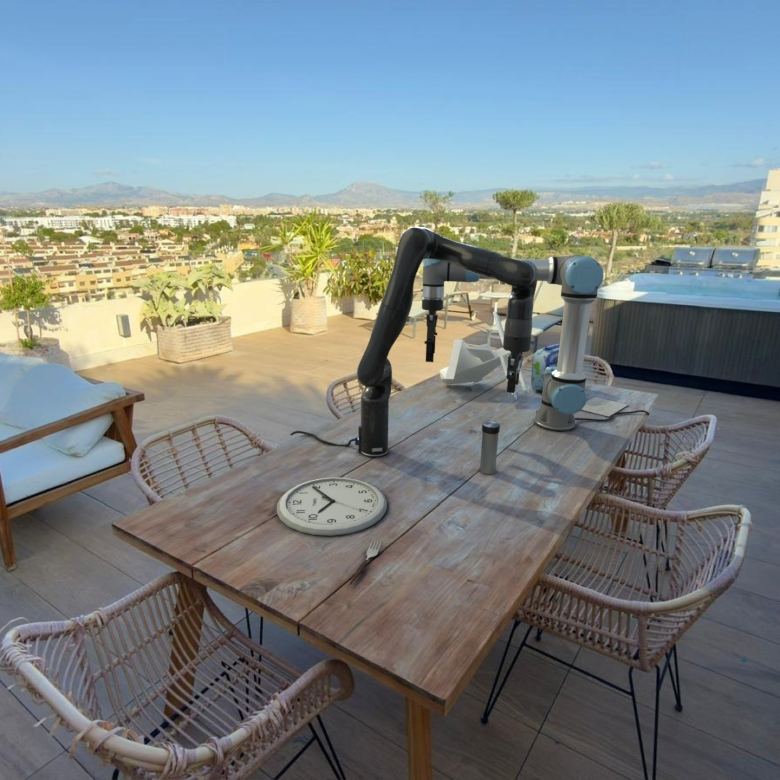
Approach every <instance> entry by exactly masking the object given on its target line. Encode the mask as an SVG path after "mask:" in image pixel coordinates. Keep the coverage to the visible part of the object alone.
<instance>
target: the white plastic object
mask: <svg viewBox="0 0 780 780" xmlns="http://www.w3.org/2000/svg"><path fill="white" fill-rule="evenodd" d="M492 315H493V319H494V321H495V324H496V325H495V326H496V328H497V332H498V335H499V338H500V342H501V345H502V346H503V340H504V328H503V325H502V321H501V318H500V315H499V314H498V312H497V311H496V310H495V311H492ZM509 355H511V352H510V351H507V350H504V349H503V347H500V348H498V349H496V350H495V349H493V348H492V347H491V346H490V344H489V343H488V342H487V343H483V344H479V345H473V346H469V345H468V343H466V342H465V340H464V339H463V338H460V339H458V338H454V340H453V344H452V349H451V353H450V357H449V362H448V366H446V367H444V368H442V369H440V370H439V371H438V372H439V376H440V381H442V383H443V384H444V385H445V386H449V385H458V384H467V383H468V384H469V383H473V384H477V383H480V382H482V381H484V378H485V377H486V376H487V375H489V374H490V373H492V372H494V371H495V370H496V369H497V368H499V367H500V366H502V370H503V373H504V376H505V380H506V383H507V382H508V380H507V379H506V376H507V365H508V361H507V359H508V357H509ZM522 368H523V367H521V371H520V372H519V382H520V385H521V389H522V391H523V393H524V395H525V396H526V397H528V396H531V395H530V390H529V388H528V387H529V386H528V384H527V381H526V378H525V375H524V371H523V369H522ZM516 391H517V390H515V392H514V393H510V394H511V395H512V397H513V398H514V399H515V400H517V392H516Z"/></svg>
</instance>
